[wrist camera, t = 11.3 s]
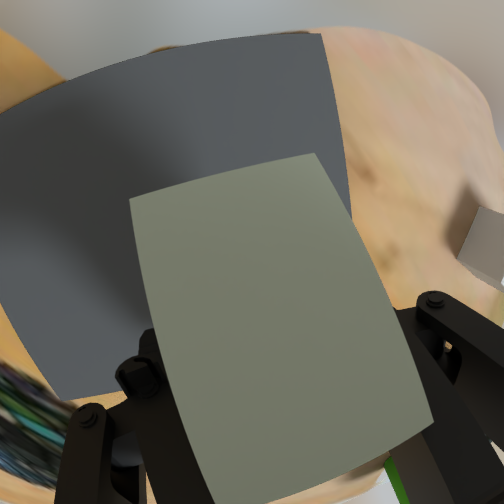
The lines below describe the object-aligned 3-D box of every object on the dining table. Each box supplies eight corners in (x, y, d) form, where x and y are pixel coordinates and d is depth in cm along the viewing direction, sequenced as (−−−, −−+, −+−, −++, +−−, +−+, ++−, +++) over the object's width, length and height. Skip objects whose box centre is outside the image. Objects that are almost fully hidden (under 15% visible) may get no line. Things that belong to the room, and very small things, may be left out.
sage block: (232, 423, 14) (219, 515, 3) (198, 321, 17) (129, 198, 6) (303, 399, 15) (433, 422, 4) (266, 300, 17) (314, 152, 6)
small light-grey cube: (475, 277, 27) (514, 299, 22) (455, 258, 25) (500, 283, 20) (497, 230, 26) (537, 247, 21) (478, 205, 24) (525, 222, 18)
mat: (63, 394, 19) (61, 401, 18) (-43, 145, 11) (-50, 146, 11) (351, 312, 23) (356, 317, 22) (314, 37, 15) (320, 33, 15)
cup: (417, 432, 37) (454, 476, 27) (416, 450, 41) (447, 488, 31) (370, 464, 36) (403, 513, 26) (375, 477, 40) (403, 519, 30)
